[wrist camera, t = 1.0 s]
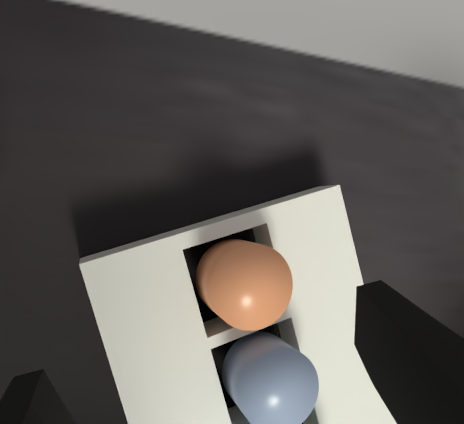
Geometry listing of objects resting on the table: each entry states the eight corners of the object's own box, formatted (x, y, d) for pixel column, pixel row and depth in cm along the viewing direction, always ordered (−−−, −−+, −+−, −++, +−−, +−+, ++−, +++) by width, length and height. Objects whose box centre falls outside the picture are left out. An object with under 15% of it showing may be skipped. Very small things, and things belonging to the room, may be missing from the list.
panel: (379, 437, 28) (405, 458, 25) (169, 549, 23) (178, 586, 21) (317, 186, 26) (339, 184, 24) (80, 258, 22) (78, 264, 19)
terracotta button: (275, 300, 23) (301, 313, 21) (207, 326, 22) (224, 343, 19) (257, 229, 23) (280, 232, 20) (186, 252, 22) (200, 259, 19)
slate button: (299, 388, 24) (327, 412, 21) (233, 418, 23) (253, 448, 20) (281, 320, 24) (307, 336, 21) (213, 347, 22) (231, 368, 20)
